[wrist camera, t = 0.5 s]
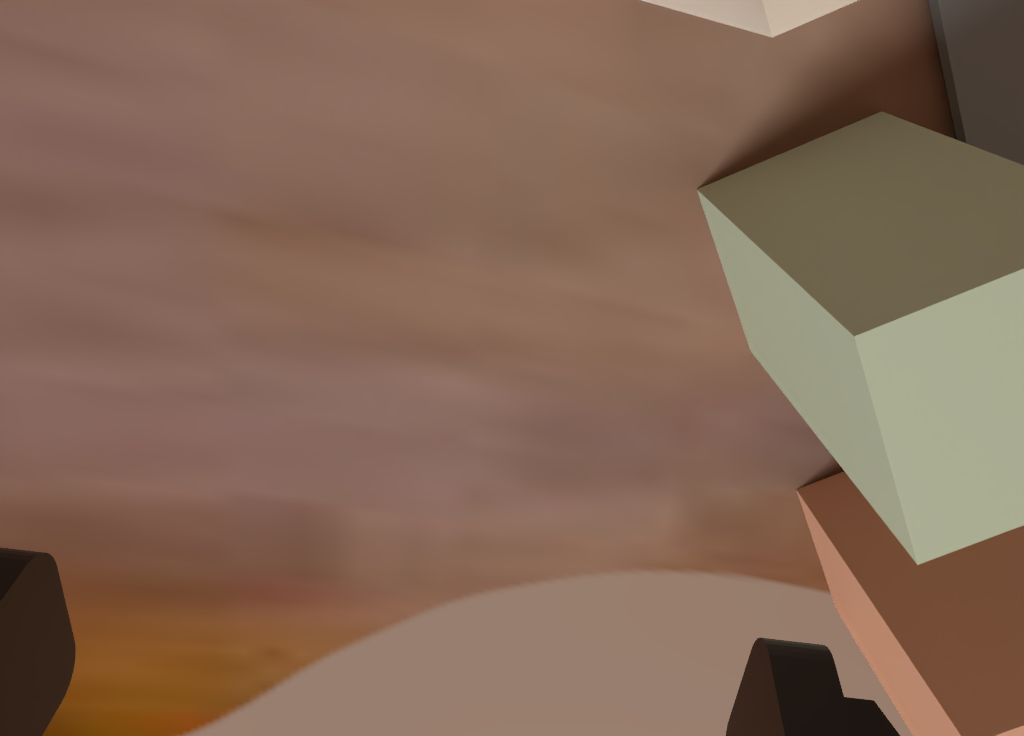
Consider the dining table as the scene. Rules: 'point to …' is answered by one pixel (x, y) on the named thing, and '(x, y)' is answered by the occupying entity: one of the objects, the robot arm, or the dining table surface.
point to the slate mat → (984, 71)
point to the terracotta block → (927, 615)
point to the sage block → (891, 316)
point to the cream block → (757, 12)
